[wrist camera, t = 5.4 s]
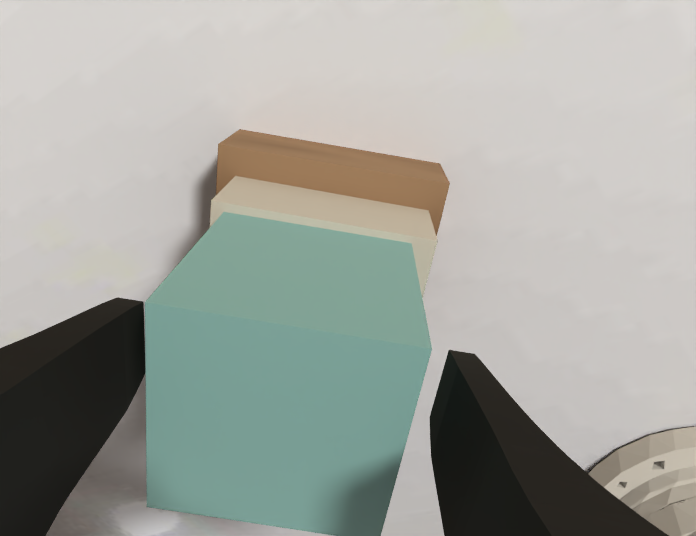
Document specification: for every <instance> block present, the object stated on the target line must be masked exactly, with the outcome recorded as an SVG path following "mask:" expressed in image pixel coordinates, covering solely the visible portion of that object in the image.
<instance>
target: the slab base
mask: <svg viewBox="0 0 696 536" xmlns="http://www.w3.org/2000/svg"><path fill="white" fill-rule="evenodd" d="M235 176H239V177H245V178H250V179H256V180H261V181H267V182H273V183H278V184H284V185H289V186H295V187H300V188H306V189H312V190H317V191H323V192H328V193H334V194H340V195H345V196H351V197H356V198H362V199H367V200H373V201H379V202H384V203H390V204H395V205H401V206H406V207H412V208H418V209H423V210H429V214H430V217H431V220H432V224H433V227H434V230H435V234H436V236H437V232H438V228H439V224H440V220H441V216H442V212H443V208H444V204H445V200H446V196H447V192H448V188H449V184H450V183H449V181H448V179H447V177H446V175H445V173H444V171H443V169H442V167H441V165H440V164H439V163H433V162H427V161H422V160H416V159H410V158H404V157H398V156H392V155H387V154H381V153H375V152H369V151H363V150H357V149H351V148H346V147H340V146H334V145H328V144H322V143H316V142H311V141H305V140H299V139H293V138H287V137H281V136H276V135H270V134H264V133H258V132H252V131H246V130H241V129H240V130H238V131H237V132H235V133H234V134H232V135H231V136H229V137H228V138H227V139H225V140H224V141H222V142H221V143H219V144H218V162H217V183H216V195H217V194H218V193H219V192H220V191H221V190H222V189H223V188H224V187H225V186H226V185H227V184H228V183H229V182H230V181H231V180H232V179H233V178H234V177H235Z"/></svg>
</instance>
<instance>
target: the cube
mask: <svg viewBox="0 0 696 536" xmlns="http://www.w3.org/2000/svg"><path fill="white" fill-rule="evenodd" d="M145 350H146V473H147V507H151V508H158V509H164V510H171V511H177V512H184V513H190V514H197V515H204V516H210V517H217V518H223V519H230V520H236V521H243V522H250V523H256V524H263V525H269V526H276V527H282V528H289V529H296V530H302V531H309V532H315V533H322V534H328V535H335V536H381V532H382V528H383V525H384V521H385V518H386V514H387V510H388V507H389V503H390V499H391V496H392V492H393V489H394V485H395V481H396V478H397V474H398V470H399V467H400V463H401V459H402V456H403V452H404V449H405V445H406V441H407V438H408V434H409V430H410V427H411V423H412V419H413V416H414V412H415V409H416V405H417V401H418V398H419V394H420V390H421V387H422V383H423V380H424V376H425V372H426V369H427V365H428V361H429V358H430V354H431V350H432V347H431V341H430V336H429V331H428V326H427V321H426V315H425V310H424V305H423V300H422V294H421V289H420V284H419V279H418V274H417V268H416V263H415V258H414V253H413V247H412V243H407V242H401V241H395V240H389V239H383V238H377V237H371V236H365V235H359V234H353V233H347V232H341V231H336V230H330V229H324V228H318V227H312V226H306V225H300V224H294V223H288V222H282V221H276V220H270V219H264V218H258V217H252V216H246V215H240V214H234V213H228V212H223V213H222V214H221V216H220V217H219V218H218V219H217V220H216V221H215V222H214V224H213V225H212V226H211V227H210V228H209V229H208V231H207V232H206V233H205V234H204V235H203V236H202V237H201V239H200V240H199V241H198V242H197V243H196V244H195V245H194V247H193V248H192V249H191V250H190V251H189V252H188V254H187V255H186V256H185V257H184V258H183V259H182V260H181V262H180V263H179V264H178V265H177V266H176V267H175V268H174V270H173V271H172V272H171V273H170V274H169V275H168V277H167V278H166V279H165V280H164V281H163V282H162V283H161V285H160V286H159V287H158V288H157V289H156V290H155V291H154V293H153V294H152V295H151V296H150V297H149V298H148V300H147V301H146V302H145Z"/></svg>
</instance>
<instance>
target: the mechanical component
mask: <svg viewBox="0 0 696 536" xmlns="http://www.w3.org/2000/svg"><path fill="white" fill-rule="evenodd" d="M589 475H590V476H591V477H592V478H593V479H594V480H596V481H597V482H598V483H599V484H600V485H602V486H603V487H604V488H605V489H607V490H608V491H609V492H610V493H611V494H613V495H614V496H615V497H617V498H618V499H619V500H621V501H622V502H623V503H625V504H626V505H627V506H629V507H630V508H631V509H633V510H634V511H635V512H636V513H638V514H639V515H640V516H642V517H643V518H645V519H646V520H647V521H649V522H650V523H652V524H653V525H654V526H656V527H657V528H659V529H660V530H662V531H663V532H664V533H666V534H667V535H669V536H696V426H695V427H688V428H681V429H674V430H669V431H665V432H661V433H657V434H652V435H649V436H647V437H644V438H642V439H640V440H638V441H635V442H633V443H631V444H629V445H626V446H624V447H622V448H620V449H618V450H616V451H615V452H614V453H612V454H611V455H610V456H608V457H607V458H606V459H604V460H603V461H602V462H600V463H599V464H598V465H596V466H595V467H594V468H593V469H592V470H591V471H590V473H589Z"/></svg>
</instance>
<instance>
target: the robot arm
mask: <svg viewBox="0 0 696 536" xmlns="http://www.w3.org/2000/svg"><path fill="white" fill-rule="evenodd" d="M144 375H145V341H144V304H143V302H142V301H136V300H129V299H123V298H115V299H112V300H110V301H107V302H105V303H102V304H100V305H98V306H96V307H93V308H91V309H89V310H87V311H85V312H82V313H80V314H78V315H76V316H74V317H72V318H69V319H67V320H65V321H63V322H61V323H58V324H56V325H54V326H52V327H50V328H47V329H45V330H43V331H41V332H39V333H36V334H34V335H32V336H29V337H27V338H24V339H22V340H19V341H17V342H15V343H12V344H10V345H7V346H5V347H2V348H0V536H46V534H47V532H48V530H49V528H50V526H51V525H52V523H53V521H54V519H55V517H56V516H57V514H58V512H59V510H60V509H61V507H62V506H63V504H64V502H65V501H66V499H67V498H68V496H69V494H70V493H71V491H72V490H73V488H74V487H75V486H76V484H77V483H78V481H79V480H80V478H81V477H82V475H83V474H84V472H85V471H86V470H87V468H88V467H89V465H90V464H91V462H92V461H93V459H94V458H95V456H96V455H97V454H98V452H99V451H100V449H101V448H102V446H103V445H104V443H105V442H106V441H107V439H108V438H109V436H110V435H111V433H112V432H113V430H114V429H115V427H116V426H117V424H118V423H119V421H120V420H121V418H122V417H123V415H124V414H125V412H126V411H127V409H128V407H129V405H130V403H131V401H132V399H133V397H134V396H135V394H136V392H137V389H138V387H139V385H140V383H141V381H142V379H143V377H144ZM430 441H431V458H432V465H433V471H434V477H435V483H436V489H437V495H438V500H439V506H440V512H441V518H442V524H443V529H444V535H445V536H669V535H667V534H666V533H664V532H663V531H662V530H660V529H659V528H657V527H656V526H654V525H653V524H652V523H650V522H649V521H647V520H646V519H645V518H643V517H642V516H640V515H639V514H638V513H636V512H635V511H634V510H633V509H631V508H630V507H629V506H627V505H626V504H625V503H623V502H622V501H621V500H619V499H618V498H617V497H615V496H614V495H613V494H611V493H610V492H609V491H608V490H607V489H605V488H604V487H603V486H602V485H600V484H599V483H598V482H597V481H596V480H594V479H593V478H592V477H591V476H590V475H589V474H588V473H586V472H585V471H584V470H583V469H582V468H581V467H580V466H578V465H577V464H576V463H575V462H574V461H573V460H572V459H570V458H569V457H568V456H567V455H566V454H565V453H564V452H563V451H562V450H561V449H560V448H559V447H558V446H557V445H556V444H555V443H554V442H553V441H552V440H551V439H550V438H549V437H548V436H547V435H546V434H545V433H544V432H543V431H542V430H541V429H540V428H539V427H538V426H537V425H536V424H535V423H534V422H533V421H532V420H531V419H530V418H529V416H528V415H527V414H526V413H525V412H524V411H523V410H522V409H521V408H520V406H519V405H518V404H517V403H516V402H515V401H514V400H513V398H512V397H511V396H510V395H509V394H508V393H507V391H506V390H505V389H504V388H503V387H502V386H501V384H500V383H499V382H498V381H497V380H496V378H495V377H494V376H493V375H492V374H491V372H490V371H489V370H488V369H487V368H486V366H485V365H484V364H483V363H482V362H481V360H480V359H479V358H478V357H477V356H476V355H475V354H471V353H465V352H459V351H452V350H449V352H448V355H447V359H446V362H445V366H444V369H443V373H442V376H441V380H440V383H439V387H438V390H437V394H436V397H435V401H434V404H433V408H432V411H431V415H430Z"/></svg>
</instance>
